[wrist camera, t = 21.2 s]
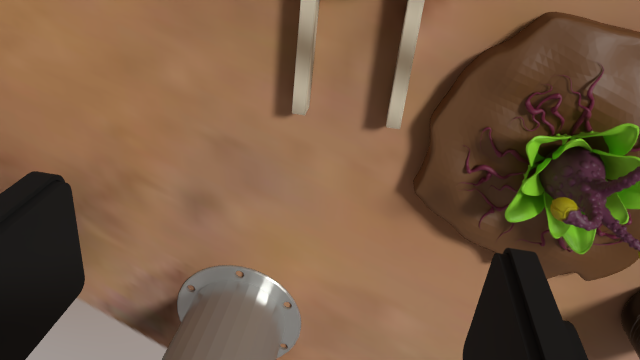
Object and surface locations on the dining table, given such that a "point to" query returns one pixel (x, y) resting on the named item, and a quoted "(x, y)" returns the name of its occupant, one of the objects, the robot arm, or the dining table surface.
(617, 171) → the plant
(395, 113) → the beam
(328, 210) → the dining table surface
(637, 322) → the supplement bottle
